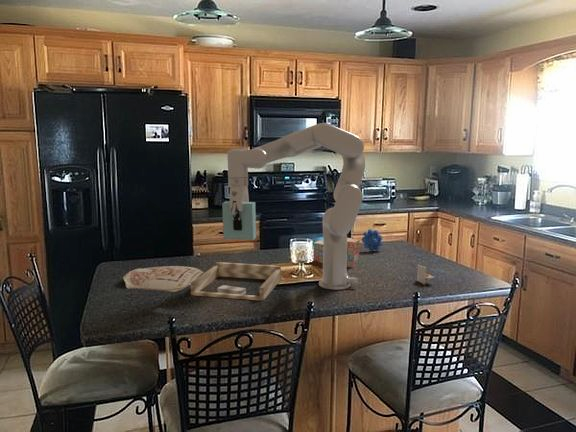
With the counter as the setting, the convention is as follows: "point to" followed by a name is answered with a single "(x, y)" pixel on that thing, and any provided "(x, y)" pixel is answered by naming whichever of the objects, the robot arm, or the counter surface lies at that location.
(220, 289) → the offcut upper
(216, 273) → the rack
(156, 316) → the counter surface
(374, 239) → the blue gear
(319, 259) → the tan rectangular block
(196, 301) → the counter surface
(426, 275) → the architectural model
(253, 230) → the teal rectangular block
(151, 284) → the poster
